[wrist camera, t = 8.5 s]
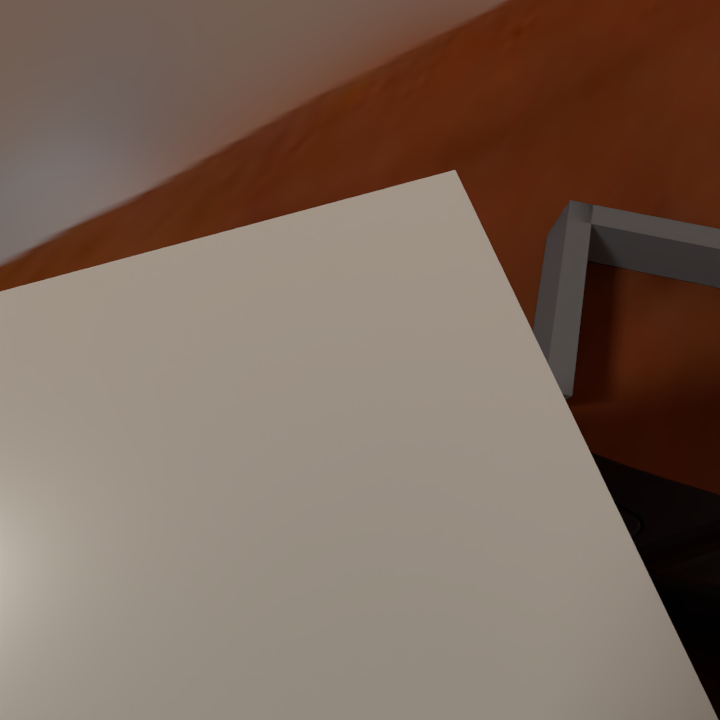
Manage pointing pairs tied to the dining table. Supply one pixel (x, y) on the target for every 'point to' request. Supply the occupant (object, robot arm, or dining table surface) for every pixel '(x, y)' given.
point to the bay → (616, 248)
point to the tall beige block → (312, 489)
